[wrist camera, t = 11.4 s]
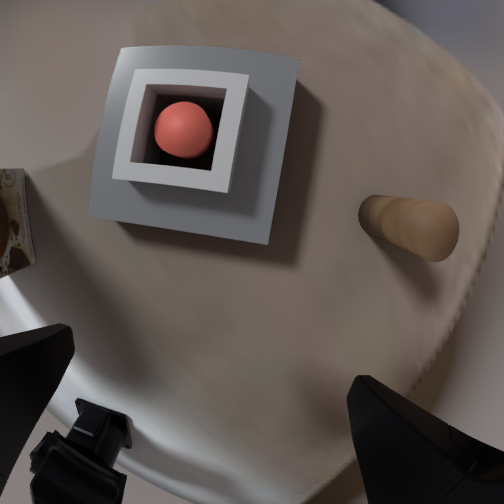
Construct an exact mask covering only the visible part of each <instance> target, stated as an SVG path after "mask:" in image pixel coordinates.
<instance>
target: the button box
mask: <svg viewBox="0 0 504 504" xmlns="http://www.w3.org/2000/svg"><path fill="white" fill-rule="evenodd" d="M298 66H299V59H296V58H292V57H287V56H281V55H276V54H270V53H264V52H257V51H250V50H242V49H233V48H222V47H208V46H143V47H129V48H121V51H120V55H119V57H118V60H117V63H116V66H115V70H114V73H113V76H112V80H111V83H110V87H109V90H108V94H107V98H106V102H105V106H104V111H103V115H102V119H101V123H100V128H99V133H98V139H97V144H96V150H95V156H94V162H93V169H92V177H91V185H90V194H89V205H88V217H94V218H101V219H108V220H114V221H121V222H127V223H134V224H140V225H147V226H153V227H160V228H166V229H172V230H179V231H185V232H191V233H198V234H204V235H210V236H216V237H222V238H228V239H235V240H241V241H247V242H253V243H259V244H265V245H268V240H269V235H270V230H271V224H272V219H273V213H274V208H275V202H276V196H277V191H278V185H279V179H280V174H281V168H282V162H283V156H284V151H285V145H286V139H287V133H288V127H289V121H290V115H291V109H292V103H293V97H294V91H295V85H296V78H297V72H298ZM178 102H191V103H194V104H196V105H198V106H200V107H201V108H202V109H210V110H219V111H222V115H221V120H220V125H219V131H218V136H217V141H216V147H215V152H214V158H213V164H212V169H211V171H207V170H200V169H192V168H184V167H175V166H166V165H158V163H159V157H160V151H161V147H160V146H159V145H158V143H157V142H156V139H155V135H154V127H155V123H156V120H157V118H158V116H159V115H160V114H161V112H162V111H163V110H164V109H166V108H167V107H168V106H170V105H172V104H174V103H178Z"/></svg>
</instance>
